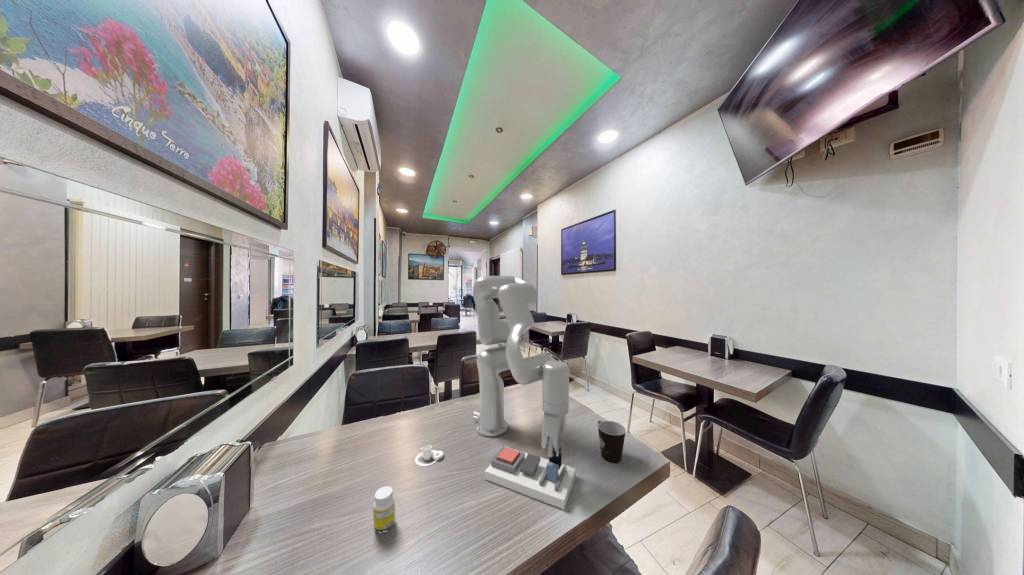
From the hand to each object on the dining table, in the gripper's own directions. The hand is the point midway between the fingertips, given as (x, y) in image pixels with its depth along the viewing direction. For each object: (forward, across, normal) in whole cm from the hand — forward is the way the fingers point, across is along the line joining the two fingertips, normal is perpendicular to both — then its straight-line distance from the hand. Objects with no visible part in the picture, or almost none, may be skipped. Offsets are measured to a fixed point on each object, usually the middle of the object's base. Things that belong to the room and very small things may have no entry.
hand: (555, 466), depth 81 cm
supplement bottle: (+5, +31, -33) cm, 46 cm away
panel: (+5, +2, -7) cm, 9 cm away
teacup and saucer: (+6, +10, -39) cm, 40 cm away
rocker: (+1, +2, -7) cm, 7 cm away
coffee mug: (+5, -20, +13) cm, 25 cm away
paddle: (+2, +3, 0) cm, 3 cm away
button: (+2, +2, -15) cm, 15 cm away
